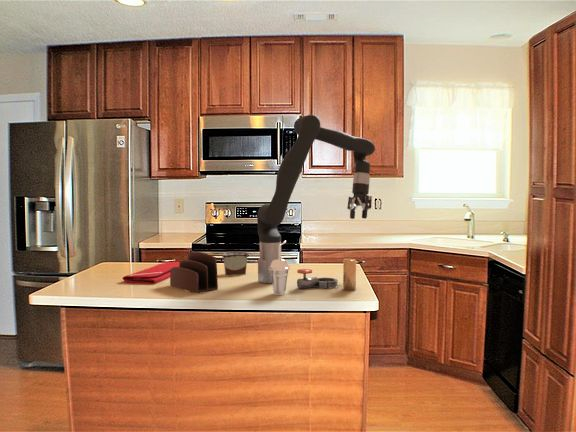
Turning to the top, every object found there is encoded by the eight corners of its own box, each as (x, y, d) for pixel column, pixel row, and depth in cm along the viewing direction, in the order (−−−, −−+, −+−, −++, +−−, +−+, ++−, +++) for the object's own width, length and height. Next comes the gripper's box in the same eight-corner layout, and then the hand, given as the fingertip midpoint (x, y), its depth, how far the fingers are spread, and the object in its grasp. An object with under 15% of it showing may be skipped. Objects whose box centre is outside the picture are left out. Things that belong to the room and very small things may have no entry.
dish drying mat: (192, 267, 249) (192, 260, 249) (156, 285, 209) (155, 276, 209) (162, 266, 252) (162, 259, 252) (121, 284, 212) (121, 275, 212)
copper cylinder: (347, 291, 196) (347, 261, 196) (340, 288, 201) (341, 259, 200) (358, 290, 199) (358, 260, 198) (351, 287, 203) (351, 258, 202)
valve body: (303, 291, 197) (303, 272, 196) (292, 286, 205) (293, 269, 204) (340, 286, 204) (341, 269, 204) (329, 282, 213) (329, 265, 212)
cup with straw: (264, 293, 194) (263, 241, 192) (283, 290, 199) (283, 240, 197) (276, 297, 187) (276, 244, 185) (295, 294, 192) (295, 242, 190)
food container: (245, 271, 237) (245, 250, 236) (248, 274, 231) (248, 252, 230) (219, 273, 233) (219, 252, 232) (222, 275, 227) (222, 254, 226)
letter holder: (190, 282, 214) (189, 249, 213) (218, 289, 200) (217, 255, 199) (169, 286, 207) (169, 252, 206) (197, 294, 193) (197, 257, 192)
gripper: (345, 183, 234) (342, 217, 233) (364, 181, 222) (361, 217, 221) (357, 186, 238) (354, 219, 237) (377, 183, 226) (374, 219, 225)
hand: (358, 218), depth 229 cm, fingers open, 8 cm apart
